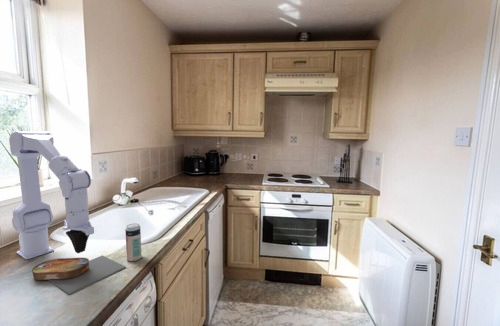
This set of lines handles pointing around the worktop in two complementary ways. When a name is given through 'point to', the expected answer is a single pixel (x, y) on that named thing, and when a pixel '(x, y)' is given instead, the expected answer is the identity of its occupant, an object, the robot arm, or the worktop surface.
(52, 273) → the tin
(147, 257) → the worktop surface
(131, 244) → the beer can
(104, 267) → the mat
